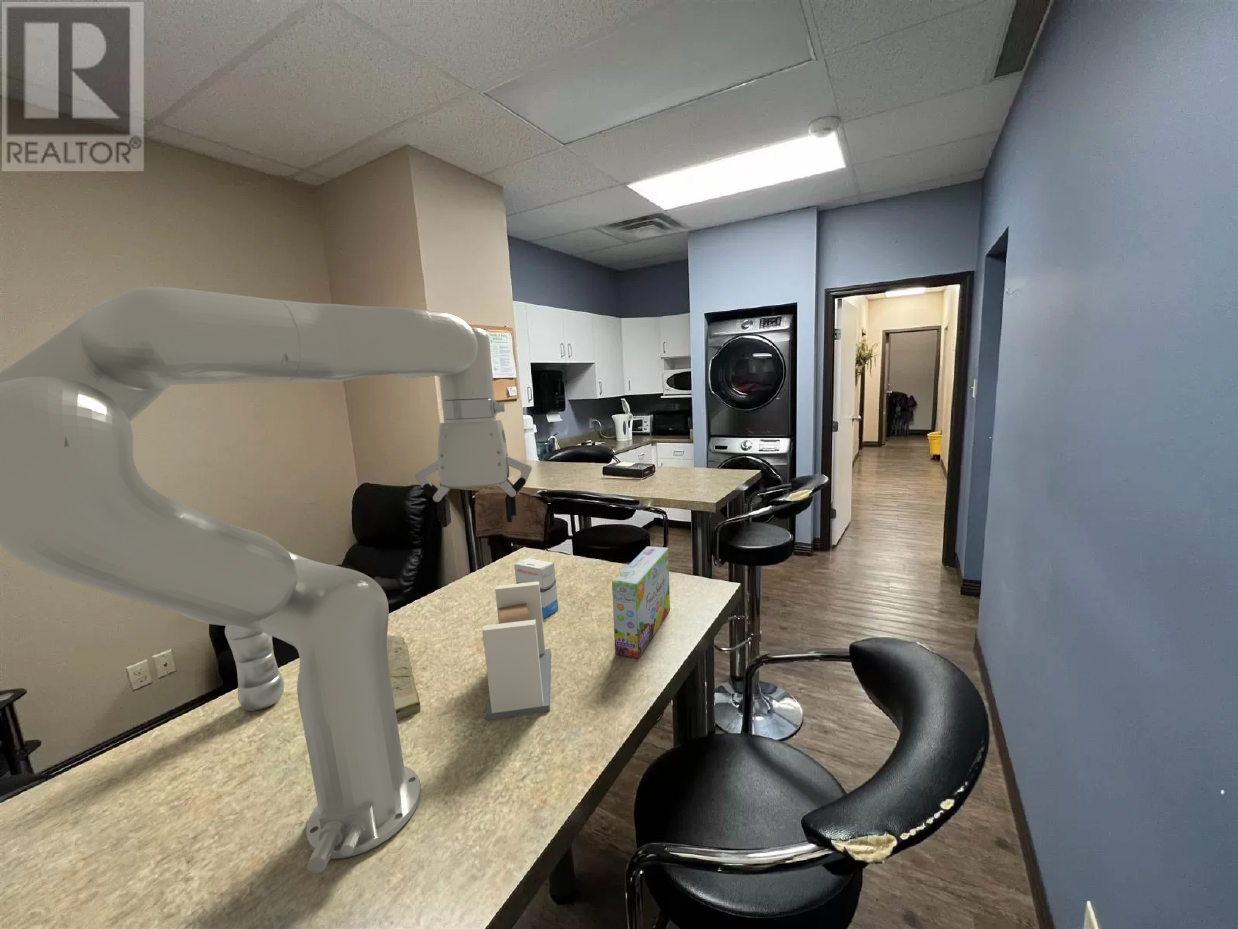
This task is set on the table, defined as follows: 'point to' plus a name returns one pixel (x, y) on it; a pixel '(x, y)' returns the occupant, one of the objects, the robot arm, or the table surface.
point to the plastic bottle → (255, 668)
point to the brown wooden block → (514, 613)
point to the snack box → (640, 600)
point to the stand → (517, 656)
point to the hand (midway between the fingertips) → (478, 522)
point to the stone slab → (402, 678)
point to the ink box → (540, 581)
